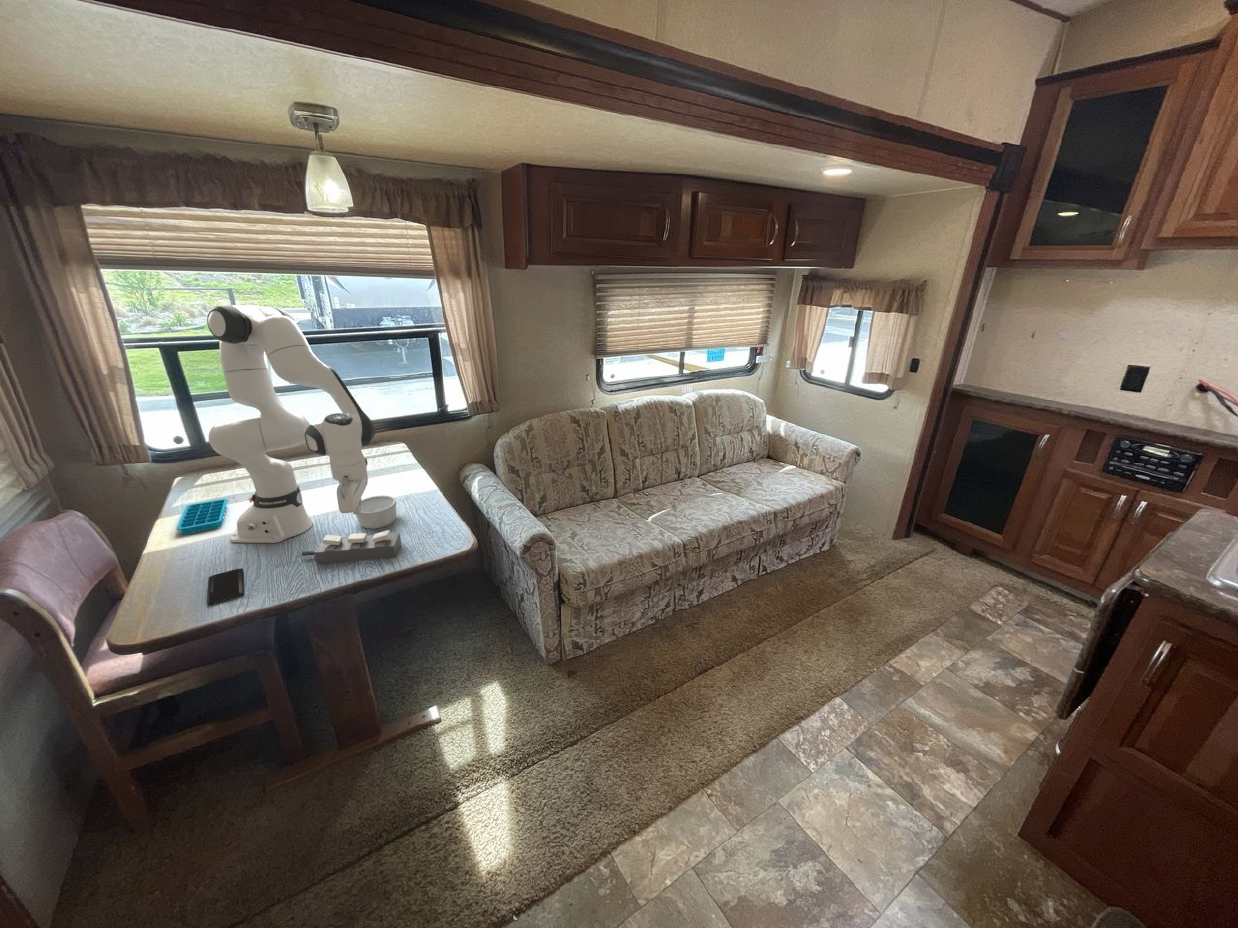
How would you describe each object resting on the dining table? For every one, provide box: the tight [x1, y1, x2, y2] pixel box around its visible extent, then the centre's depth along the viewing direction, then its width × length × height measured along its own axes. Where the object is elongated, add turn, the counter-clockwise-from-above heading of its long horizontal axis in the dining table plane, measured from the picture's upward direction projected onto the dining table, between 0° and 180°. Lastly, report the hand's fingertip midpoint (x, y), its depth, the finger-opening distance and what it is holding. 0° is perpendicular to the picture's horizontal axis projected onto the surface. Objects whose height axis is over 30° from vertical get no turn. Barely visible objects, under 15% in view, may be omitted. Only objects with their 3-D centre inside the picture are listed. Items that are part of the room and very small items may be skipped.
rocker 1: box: [322, 534, 343, 545], centre depth 146 cm, size 4×3×1 cm
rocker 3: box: [373, 529, 392, 543], centre depth 149 cm, size 4×3×1 cm
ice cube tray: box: [175, 498, 228, 536], centre depth 167 cm, size 12×20×3 cm, turn 32°
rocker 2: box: [348, 532, 368, 543], centre depth 148 cm, size 4×3×1 cm
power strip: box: [301, 532, 402, 565], centre depth 148 cm, size 27×8×5 cm, turn 101°
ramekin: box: [355, 495, 397, 530], centre depth 167 cm, size 13×13×7 cm
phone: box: [206, 567, 245, 607], centre depth 133 cm, size 8×1×15 cm
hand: (357, 512), depth 145 cm, fingers closed
